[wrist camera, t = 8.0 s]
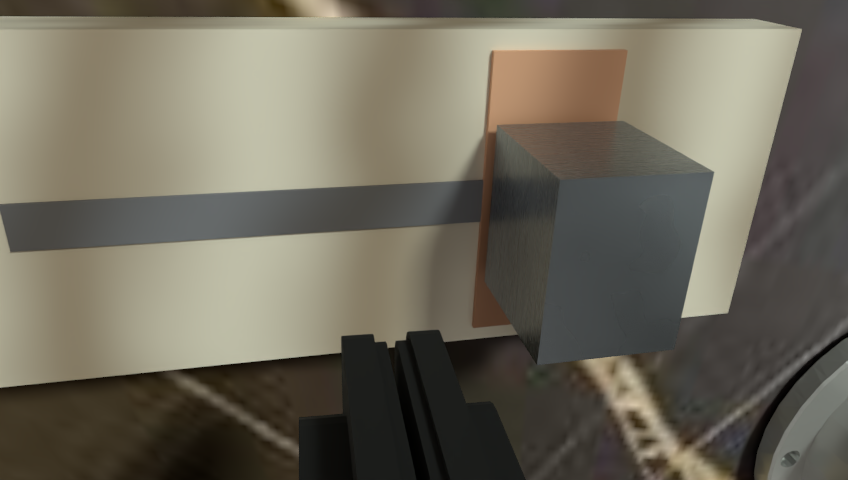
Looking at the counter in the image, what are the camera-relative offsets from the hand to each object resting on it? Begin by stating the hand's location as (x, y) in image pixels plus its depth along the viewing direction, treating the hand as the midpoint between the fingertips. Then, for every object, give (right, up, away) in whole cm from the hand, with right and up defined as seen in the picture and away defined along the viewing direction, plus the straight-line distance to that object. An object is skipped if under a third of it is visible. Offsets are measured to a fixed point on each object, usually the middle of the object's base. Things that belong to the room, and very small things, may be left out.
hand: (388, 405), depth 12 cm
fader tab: (+4, +4, +7) cm, 9 cm away
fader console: (0, +5, +8) cm, 9 cm away
